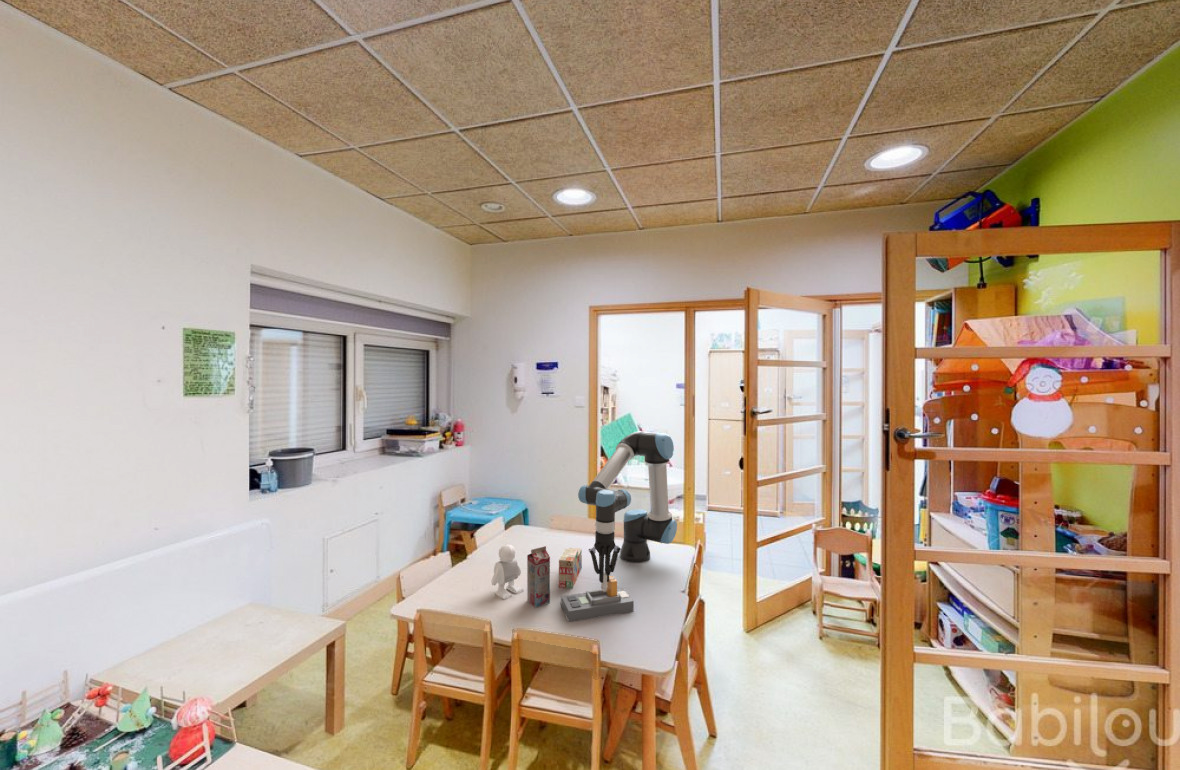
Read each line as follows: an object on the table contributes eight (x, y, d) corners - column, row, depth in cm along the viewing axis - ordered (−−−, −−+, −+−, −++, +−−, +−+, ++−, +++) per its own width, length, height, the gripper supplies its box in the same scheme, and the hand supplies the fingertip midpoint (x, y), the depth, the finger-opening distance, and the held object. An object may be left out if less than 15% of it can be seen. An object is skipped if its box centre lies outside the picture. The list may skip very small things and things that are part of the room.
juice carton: (549, 602, 183) (549, 548, 183) (535, 607, 179) (535, 552, 179) (541, 595, 189) (541, 543, 188) (527, 600, 185) (527, 547, 184)
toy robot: (499, 601, 184) (499, 552, 183) (487, 593, 190) (487, 546, 190) (526, 589, 194) (527, 543, 194) (514, 582, 200) (514, 537, 200)
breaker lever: (612, 592, 183) (612, 575, 183) (617, 598, 179) (617, 580, 178) (606, 593, 183) (607, 575, 182) (611, 599, 178) (611, 581, 178)
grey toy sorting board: (622, 596, 188) (622, 583, 188) (633, 611, 177) (633, 597, 177) (561, 605, 181) (561, 592, 180) (568, 621, 169) (568, 607, 169)
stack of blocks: (569, 566, 217) (569, 541, 217) (581, 567, 216) (582, 542, 216) (558, 587, 196) (558, 559, 196) (572, 588, 195) (572, 560, 195)
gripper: (617, 526, 184) (615, 583, 185) (586, 528, 181) (585, 587, 181) (623, 532, 177) (622, 592, 178) (592, 535, 173) (591, 596, 174)
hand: (603, 589), depth 180 cm, fingers closed
